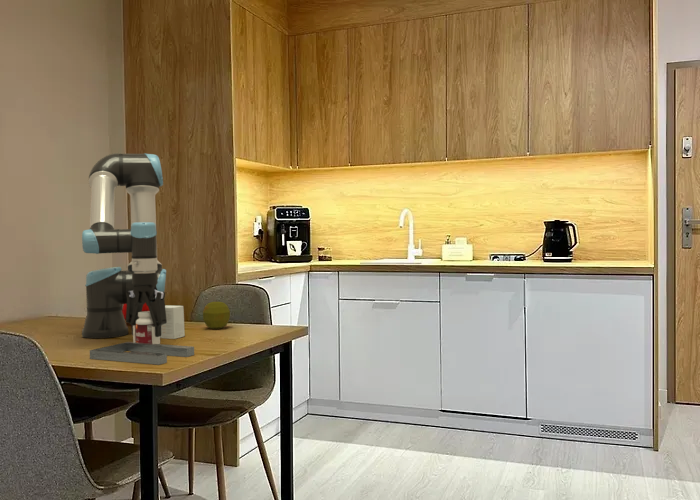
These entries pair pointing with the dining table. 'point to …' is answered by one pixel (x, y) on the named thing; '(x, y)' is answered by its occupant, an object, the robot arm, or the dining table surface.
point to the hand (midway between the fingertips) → (146, 346)
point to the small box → (173, 323)
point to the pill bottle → (144, 327)
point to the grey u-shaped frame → (141, 352)
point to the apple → (216, 315)
